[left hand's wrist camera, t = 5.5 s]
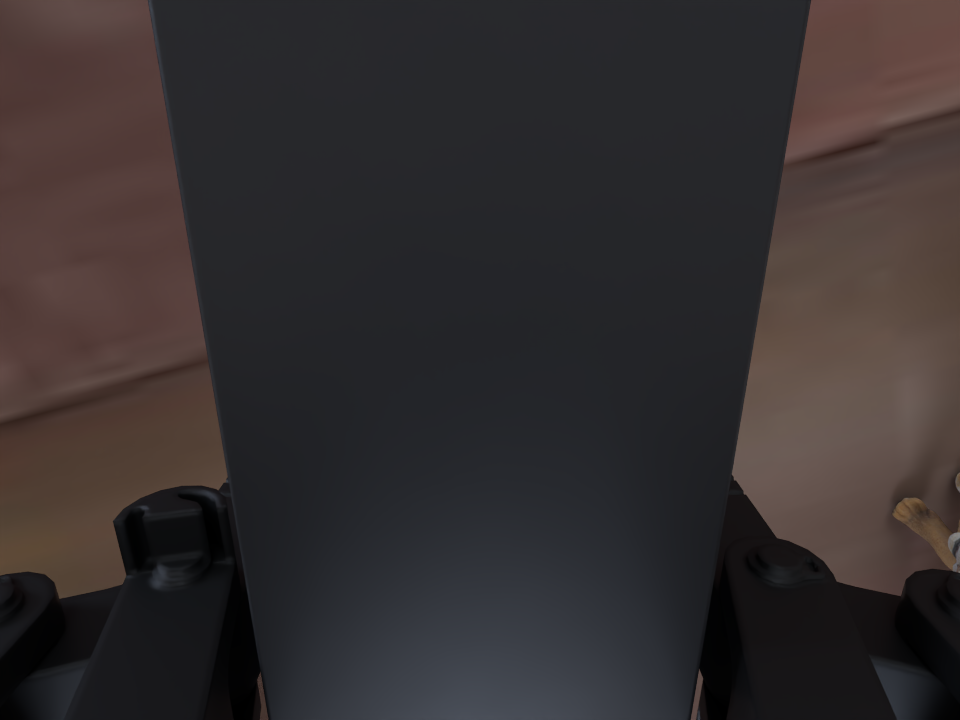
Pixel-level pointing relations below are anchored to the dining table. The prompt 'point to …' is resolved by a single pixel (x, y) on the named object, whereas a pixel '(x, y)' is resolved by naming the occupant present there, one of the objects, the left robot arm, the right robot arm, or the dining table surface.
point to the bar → (479, 333)
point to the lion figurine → (931, 529)
